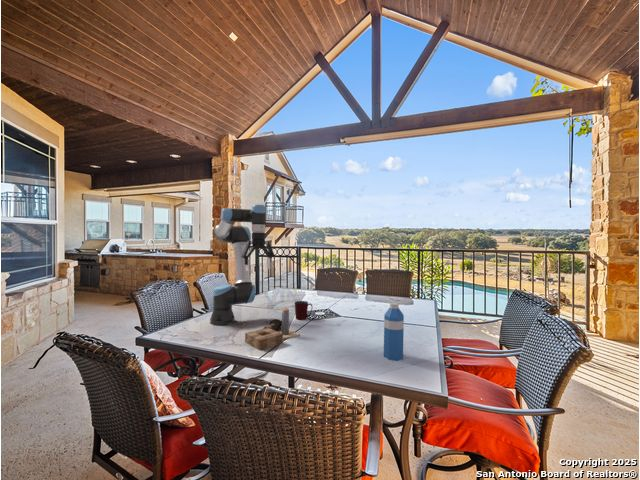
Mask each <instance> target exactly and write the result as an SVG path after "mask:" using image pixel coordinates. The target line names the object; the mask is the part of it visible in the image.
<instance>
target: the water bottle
mask: <svg viewBox="0 0 640 480" xmlns="http://www.w3.org/2000/svg"><path fill="white" fill-rule="evenodd" d="M383 316H384V317H383V318H384V320H383V321H384V323H383V324H384V325H383V330H384V331H383V358H385V359H387V360H389V361H402V360H404V327H405V326H404V324H405V322H404V321H405V315H404V313H403V312H402V310H401V309H400V306H399V303H398V302H390V303H389V308H388V309H387V310H386V312H385V313H384V315H383Z"/></svg>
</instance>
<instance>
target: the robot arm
mask: <svg viewBox="0 0 640 480" xmlns="http://www.w3.org/2000/svg"><path fill="white" fill-rule="evenodd" d="M266 212H267V211H266V206H265V205H264V204H252V206H251V209H249V208H248V209H245V208H231V207H230V208H229V207H227V208H225V207H223V208H222V209H221V211H220V218H221V219H220V220H221V221H220V222H219V224H217V225H216V226H215V227H214V229H213V234H214V236H215V238H216V239H217V240H218V241H219V242H222V243H231V247H233V250H234V253H233V254H234V265H235V267H234V268H235V279H236V280H235V281H236V282H235V283H234V285H232V284H230V283H229V284H223V285H222V284H221V285H218V286H216V287H214V288H213V292H212V313H211V315H210V318H209V323H210V324H211V325H214V326H222V325H223V326H225V325H230V324H233V323H234V322H235V321H236V320H235V318H236V317H235V315H234V312H233V306H234V305H241V304H243V305H244V304H250V303H251V304H252V303H253V302H254V300H255V298H256V293H257V292H256V289H257V288H256V286H255V285H254V284H253V282H252V281H251V280H250V267H251V266H250V264H251V263H250V257H251V255H252V254H253V252H254V251H255V250H258V249H259V250H260V249H261V250H262V251H263V252H264V254H265V255H266V269H267V270H271V264H272V259H273V257H275V253H274V250H273V248H272V246H271V241H270V240H266V214H267V213H266ZM236 223H251V231H250V228H249V227H248V226H243V225H235V224H236ZM251 232H252V233H251Z"/></svg>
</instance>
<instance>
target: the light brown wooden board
mask: <svg viewBox="0 0 640 480" xmlns="http://www.w3.org/2000/svg"><path fill="white" fill-rule="evenodd" d="M277 332H280V333H282V329H281V330H278V331H277ZM299 336H301V335H300V333H298V332H296V331H294V330H290V329H289V334H288V335H283V341H285V340H288V339H291V338H295V337H299Z"/></svg>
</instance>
